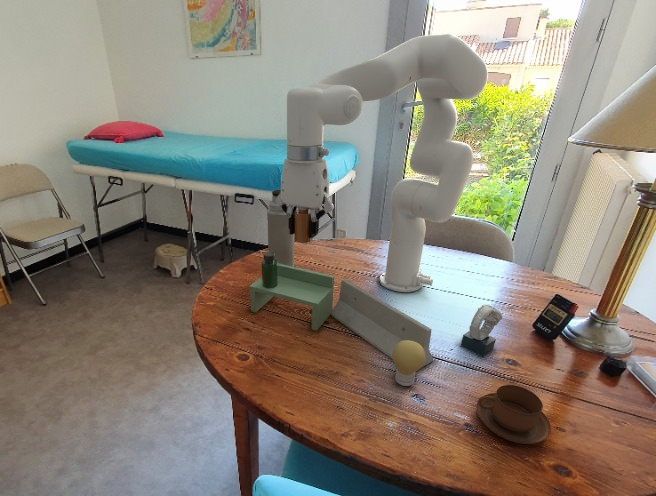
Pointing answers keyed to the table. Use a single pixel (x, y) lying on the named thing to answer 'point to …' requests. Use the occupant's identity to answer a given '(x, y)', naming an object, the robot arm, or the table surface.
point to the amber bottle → (302, 225)
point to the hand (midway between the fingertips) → (303, 233)
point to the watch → (482, 331)
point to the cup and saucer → (514, 415)
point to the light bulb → (407, 361)
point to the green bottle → (269, 270)
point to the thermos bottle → (279, 233)
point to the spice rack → (298, 291)
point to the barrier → (378, 321)
